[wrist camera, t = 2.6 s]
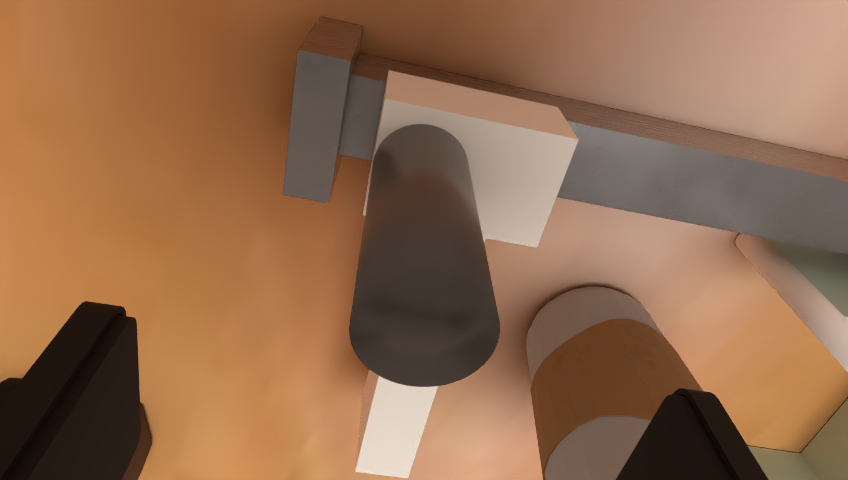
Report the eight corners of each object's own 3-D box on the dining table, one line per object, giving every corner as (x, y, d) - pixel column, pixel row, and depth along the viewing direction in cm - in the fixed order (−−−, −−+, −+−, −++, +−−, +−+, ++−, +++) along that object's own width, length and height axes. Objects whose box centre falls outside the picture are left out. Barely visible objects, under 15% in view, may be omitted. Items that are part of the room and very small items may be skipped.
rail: (320, 16, 22) (297, 49, 17) (954, 159, 25) (1065, 216, 21) (305, 139, 24) (282, 194, 20) (883, 254, 28) (968, 321, 23)
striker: (389, 60, 21) (367, 236, 10) (550, 95, 21) (676, 291, 11) (327, 393, 29) (280, 667, 19) (442, 409, 30) (457, 681, 20)
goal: (743, 226, 27) (897, 387, 18) (972, 271, 28) (1212, 439, 20) (617, 439, 34) (684, 622, 26) (803, 465, 36) (923, 645, 27)
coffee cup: (486, 377, 32) (535, 712, 19) (533, 251, 27) (638, 575, 15) (628, 398, 33) (767, 729, 20) (695, 280, 28) (926, 606, 16)
